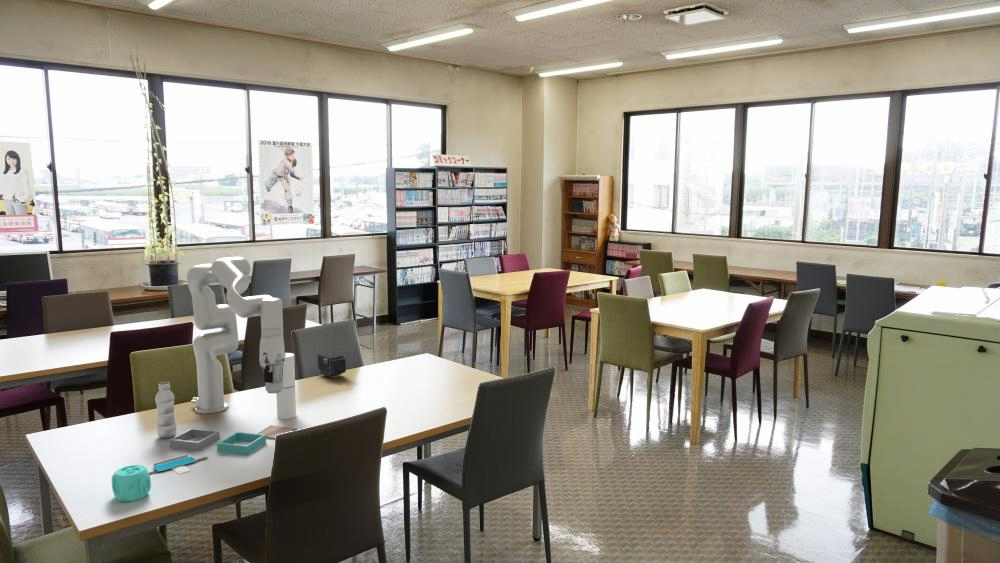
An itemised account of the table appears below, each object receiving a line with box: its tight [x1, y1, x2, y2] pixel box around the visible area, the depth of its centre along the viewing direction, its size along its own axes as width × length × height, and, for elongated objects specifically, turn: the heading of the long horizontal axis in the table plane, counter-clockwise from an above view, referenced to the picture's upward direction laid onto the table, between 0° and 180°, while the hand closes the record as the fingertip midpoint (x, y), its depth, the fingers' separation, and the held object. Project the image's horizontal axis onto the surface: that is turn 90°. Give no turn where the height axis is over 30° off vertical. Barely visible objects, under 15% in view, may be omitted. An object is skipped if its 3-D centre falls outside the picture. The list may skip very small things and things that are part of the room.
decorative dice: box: [111, 464, 152, 503], centre depth 195 cm, size 8×8×8 cm
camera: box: [317, 351, 347, 379], centre depth 322 cm, size 11×11×15 cm
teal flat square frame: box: [216, 431, 267, 456], centre depth 233 cm, size 12×12×3 cm
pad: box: [256, 424, 298, 440], centre depth 247 cm, size 11×11×1 cm
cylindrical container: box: [276, 352, 297, 420], centre depth 264 cm, size 7×7×25 cm
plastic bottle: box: [154, 381, 177, 439], centre depth 241 cm, size 6×7×20 cm
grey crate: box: [168, 427, 221, 452], centre depth 236 cm, size 12×12×3 cm
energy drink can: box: [264, 352, 283, 394], centre depth 244 cm, size 6×6×15 cm
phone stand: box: [149, 454, 208, 475], centre depth 216 cm, size 20×12×2 cm, turn 136°
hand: (273, 379), depth 244 cm, fingers closed on energy drink can, 6 cm apart
